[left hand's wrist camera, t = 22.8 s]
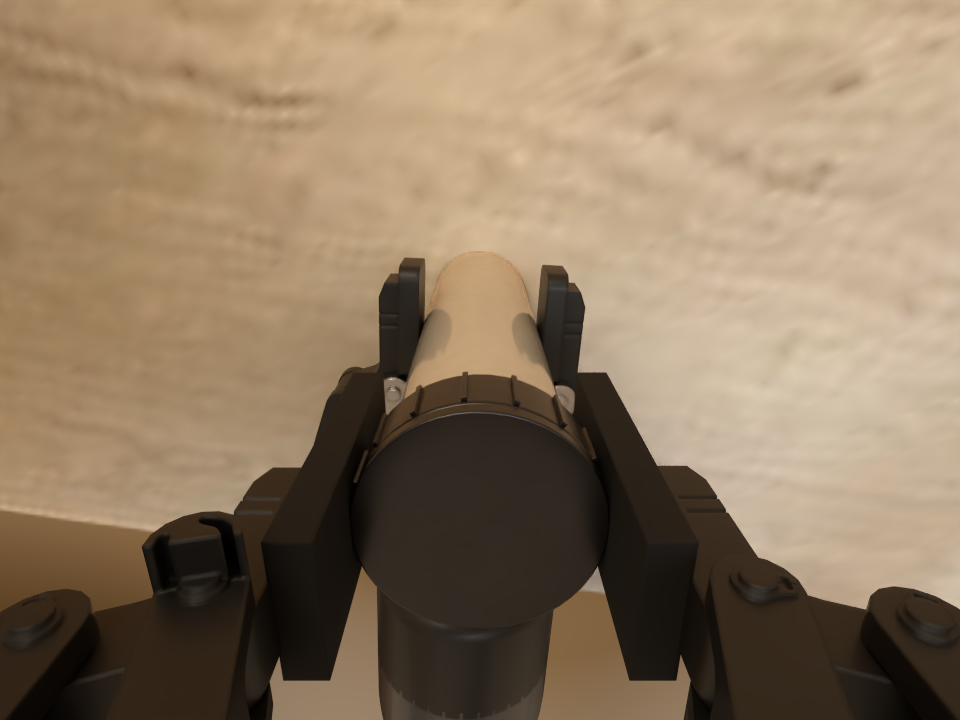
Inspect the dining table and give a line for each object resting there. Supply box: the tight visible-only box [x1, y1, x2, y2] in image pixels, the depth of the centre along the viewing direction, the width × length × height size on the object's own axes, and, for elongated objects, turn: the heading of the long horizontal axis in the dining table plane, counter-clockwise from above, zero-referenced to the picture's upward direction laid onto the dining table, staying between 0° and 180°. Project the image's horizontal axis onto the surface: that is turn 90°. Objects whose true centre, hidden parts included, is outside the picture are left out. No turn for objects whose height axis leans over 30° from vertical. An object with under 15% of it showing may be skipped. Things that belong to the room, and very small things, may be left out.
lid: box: [350, 372, 610, 629], centre depth 12 cm, size 5×5×2 cm
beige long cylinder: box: [400, 251, 558, 402], centre depth 19 cm, size 4×4×16 cm
